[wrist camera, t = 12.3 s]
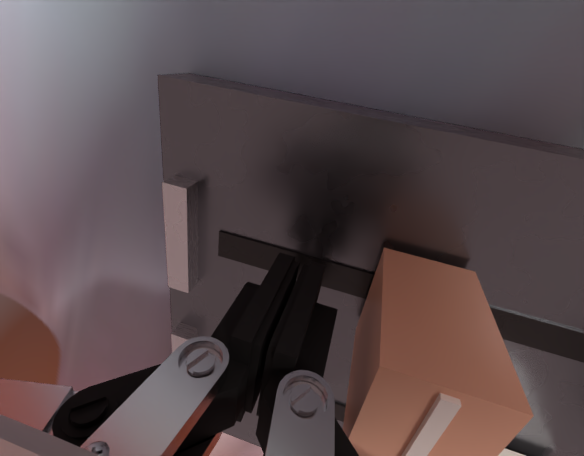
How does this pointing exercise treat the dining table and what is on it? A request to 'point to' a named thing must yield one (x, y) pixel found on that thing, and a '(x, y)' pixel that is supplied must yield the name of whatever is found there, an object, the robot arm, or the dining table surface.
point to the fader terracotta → (430, 366)
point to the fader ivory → (509, 453)
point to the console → (376, 226)
